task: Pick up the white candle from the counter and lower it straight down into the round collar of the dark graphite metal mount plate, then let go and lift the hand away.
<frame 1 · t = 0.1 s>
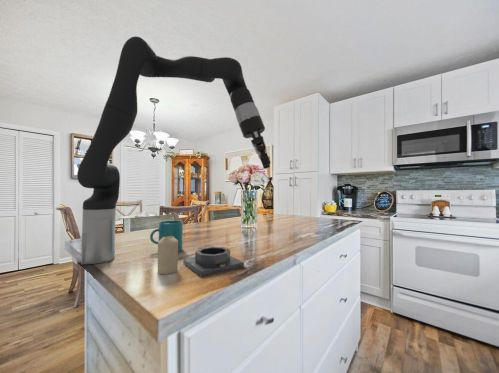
hand: (267, 166, 71), 31 cm above the counter, tool tilted 20°, fingers open, 8 cm apart
mount: (212, 265, 69), on the counter
cup: (166, 251, 86), on the counter
candle: (167, 271, 64), on the counter
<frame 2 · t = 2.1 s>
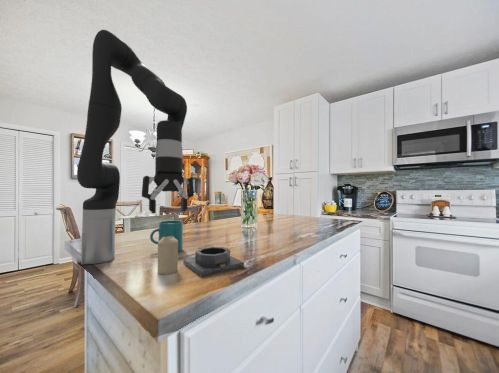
hand: (168, 212, 64), 17 cm above the counter, tool pointing down, fingers open, 8 cm apart
nothing on the counter moved.
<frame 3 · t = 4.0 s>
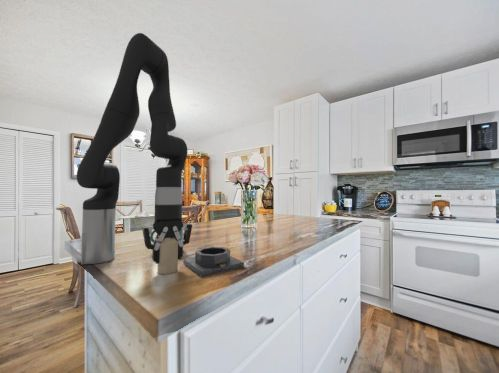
hand: (167, 260, 64), 3 cm above the counter, tool pointing down, fingers closed on candle, 5 cm apart
candle: (167, 271, 64), on the counter, touching gripper
everything else where it was.
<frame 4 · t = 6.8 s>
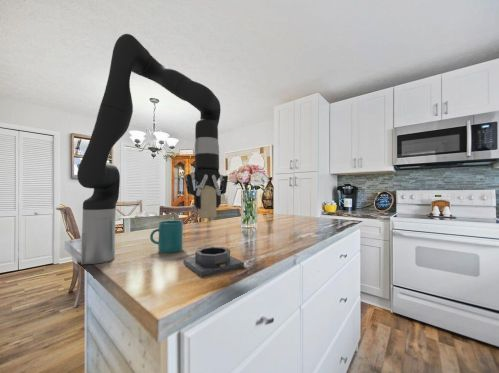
hand: (207, 207, 68), 18 cm above the counter, tool pointing down, fingers closed on candle, 5 cm apart
candle: (207, 218, 68), point 15 cm above the counter, touching gripper
everything else where it was.
when the fingers open (6 cm above the counter, at t = 9.7 s): candle drops 1 cm, resting on mount.
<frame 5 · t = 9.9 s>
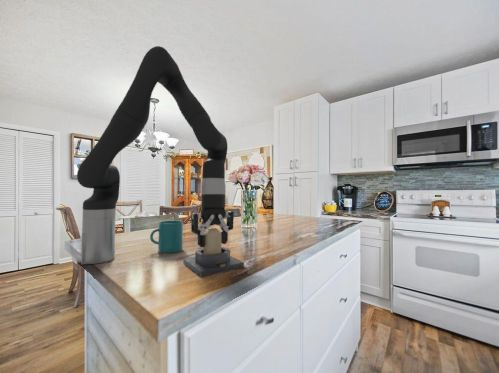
hand: (213, 245, 69), 6 cm above the counter, tool pointing down, fingers open, 7 cm apart
candle: (212, 261, 69), point 1 cm above the counter, touching mount
everything else where it was.
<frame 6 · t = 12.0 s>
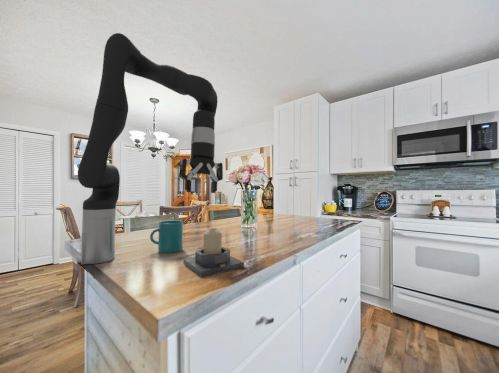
hand: (201, 192, 72), 23 cm above the counter, tool pointing down, fingers open, 8 cm apart
nothing on the counter moved.
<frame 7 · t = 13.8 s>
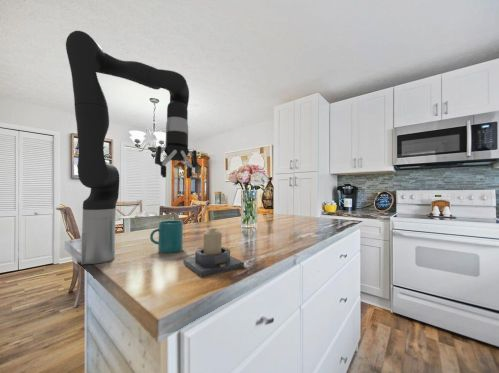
hand: (176, 177, 78), 28 cm above the counter, tool pointing down, fingers open, 8 cm apart
nothing on the counter moved.
at the end: candle 0.2 cm off-centre on the mount, point 1.3 cm above the mount's base; candle tilted 0°; the gripper is holding nothing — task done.
